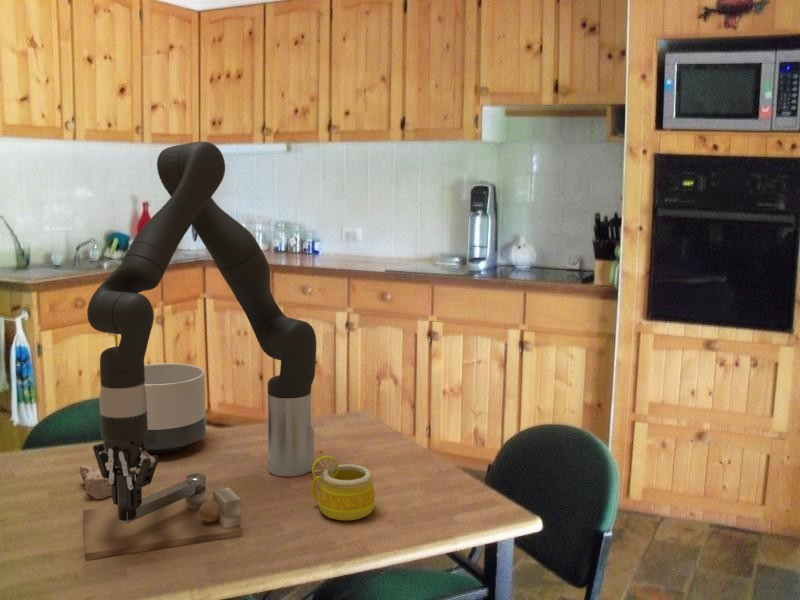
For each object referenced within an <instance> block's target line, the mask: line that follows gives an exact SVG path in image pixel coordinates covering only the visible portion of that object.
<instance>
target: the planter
mask: <svg viewBox="0 0 800 600" xmlns="http://www.w3.org/2000/svg"><path fill="white" fill-rule="evenodd" d="M144 370H145V388H146V393H147V422H148V432H147V434H146V436H145V438H144V444H145V446H146V452H147V453H148V454H156V455H157V454H158V455H159V454H161V455H162V454H170V453H174V452H177V451H179V450H182V449H184V448H186V447H188V446H190V445H191V444H193V443H196V442H198V441H200V440H202V439H203V438H204V437H205V436H206V434H207V419H206V418H207V417H206V416H207V415H206V410H207V409H206V372H205V370H204V369H203V368H202V367H199V366H197V365H193V364H187V363H177V362H175V363H174V362H173V363H172V362H171V363H170V362H169V363H168V362H166V363H165V362H163V363H152V364H151V363H150V364H144Z"/></svg>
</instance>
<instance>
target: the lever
mask: <svg viewBox="0 0 800 600" xmlns="http://www.w3.org/2000/svg"><path fill="white" fill-rule="evenodd" d="M116 478H117V501H118V505H117V506H118V520H119V521H122V522H125V523H130V522H132V521H134V520H136V519H139V518H141V517H143V516H145V515H147V514H150V513H152V512H154V511H156V510H159V509H161V508H163V507H165V506H168V505H170V504H172V503H174V502H176V501H179V500H181V499H183V498H185V497H188V496H190V495H192V494H194V493H199V492H203V491H205V490H207V481H206V480H207V478H206V474H203V473H191V474H188V475H187V476H186V477H185V480H183V481H181V482H178V483H175V484H173V485H171V486H169V487H166V488H164V489H162V490H159V491H157V492H155V493H152V494H150V495H147V496H145V497H142V504H141V506H140V507H138V508H136V509H134V510H131V509H129V508H128V489H129V488H128V485H127V479H126V477H125V476H124V475H123V470H121V471H118V472H117V473H116ZM133 478H134V481H136V475H134V476H133Z"/></svg>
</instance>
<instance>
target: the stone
mask: <svg viewBox="0 0 800 600" xmlns="http://www.w3.org/2000/svg"><path fill="white" fill-rule="evenodd" d="M107 470H108V468H107ZM79 474H80V476H81V479H82V482H83V484H84V488H85V492H86V493H88V495H89V496H91V497H93V498H94V499H97V500H101V499H102V500H103V499H105V498H108V497H112V484H110V482H109V479H108V478H105V479H104V478H103V477H102V475H101V472H100V469H99V466H98V467H96V466H90V465H80V467H79Z"/></svg>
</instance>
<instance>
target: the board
mask: <svg viewBox="0 0 800 600" xmlns="http://www.w3.org/2000/svg"><path fill="white" fill-rule="evenodd" d="M241 503H242V502H241V498H240V497H239V496H238V495H237V494H236V493H235V492H234V491H233V490H232V489H231V488H230V487H225V488H219V489H215V490H212V492H208V490H207V489H206V490H205V491H203V492H199V493H194V494H192V495H190V496H188V497H185V498H183V499H181V500H179V501H176V502H174V503H172V504H170V505H168V506H165V507H163V508H161V509H159V510H156V511H154V512H152V513H150V514H147V515H145V516H143V517H141V518H139V519H136V520H134V521H132V522H130V523H125V522H122V521H119V520H118V505H112V506H106V507H98V508H90V509H83V510H82V517H83V518H82V519H83V520H82V521H83V537H84V538H83V539H84V558H85V561H90V560H96V559H103V558H109V557H115V556H122V555H129V554H135V553H141V552H147V551H154V550H160V549H168V548H174V547H179V546H184V545H185V546H186V545H193V544H199V543H206V542H212V541H218V540H225V539H230V538H238V537H243V529H242V527H241V525H242V515H241V514H242V511H241V510H242V509H241V507H242V506H241Z"/></svg>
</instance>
